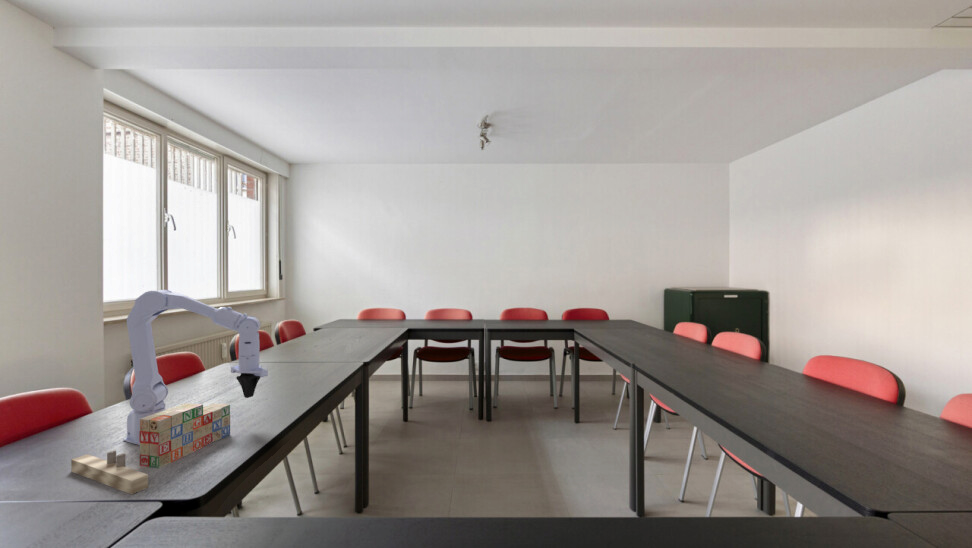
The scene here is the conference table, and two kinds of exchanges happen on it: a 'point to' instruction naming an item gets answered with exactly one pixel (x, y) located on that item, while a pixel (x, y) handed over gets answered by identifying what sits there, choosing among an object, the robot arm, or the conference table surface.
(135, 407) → the robot arm
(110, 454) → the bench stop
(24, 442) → the conference table surface
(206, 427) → the stack of blocks
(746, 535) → the conference table surface
